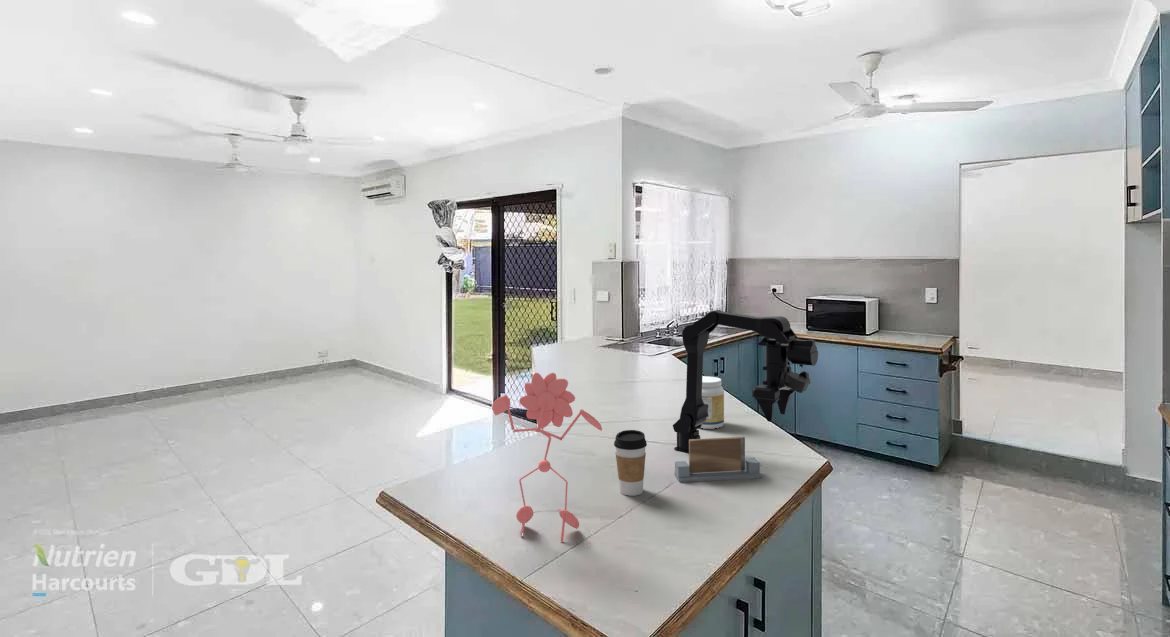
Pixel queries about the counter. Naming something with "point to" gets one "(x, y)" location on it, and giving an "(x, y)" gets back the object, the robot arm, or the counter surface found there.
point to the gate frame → (685, 476)
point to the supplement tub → (713, 402)
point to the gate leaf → (716, 454)
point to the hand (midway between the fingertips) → (776, 417)
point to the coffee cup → (630, 461)
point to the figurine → (545, 405)
